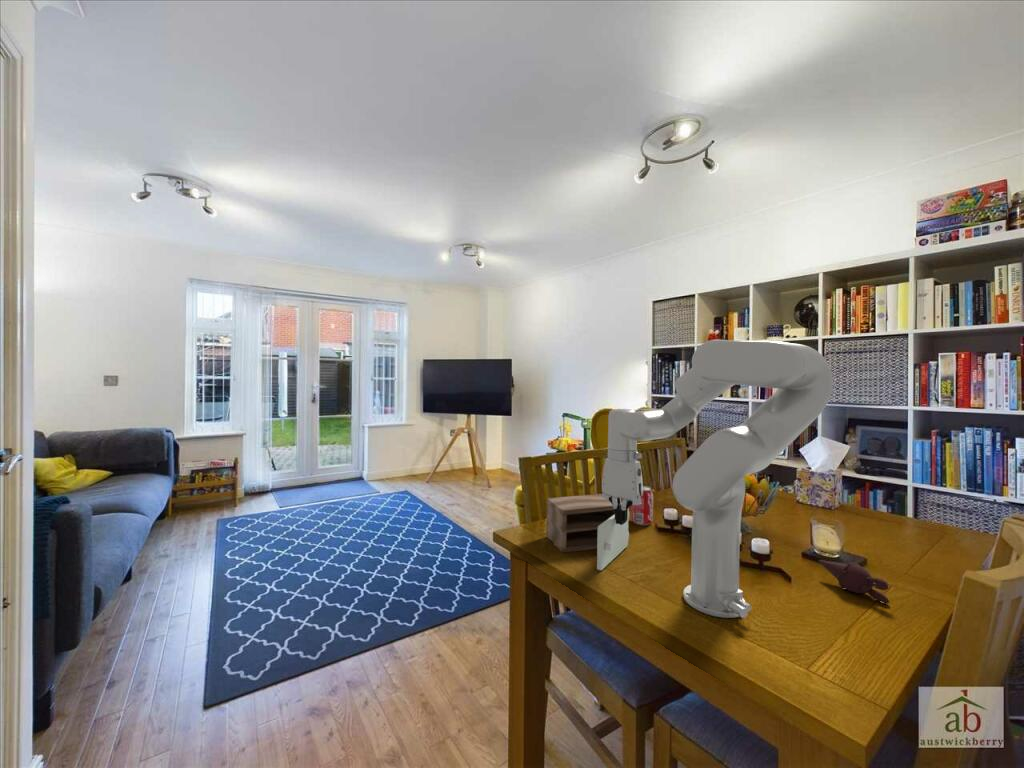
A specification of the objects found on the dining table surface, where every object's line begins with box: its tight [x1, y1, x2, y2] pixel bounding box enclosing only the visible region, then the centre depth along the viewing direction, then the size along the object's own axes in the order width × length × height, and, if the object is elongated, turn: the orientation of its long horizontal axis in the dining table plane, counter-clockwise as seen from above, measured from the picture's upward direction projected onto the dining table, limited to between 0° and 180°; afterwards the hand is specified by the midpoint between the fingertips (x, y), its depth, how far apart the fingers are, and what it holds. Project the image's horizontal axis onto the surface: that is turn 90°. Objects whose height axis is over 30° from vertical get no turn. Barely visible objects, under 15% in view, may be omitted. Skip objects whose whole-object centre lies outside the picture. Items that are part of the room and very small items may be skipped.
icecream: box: [818, 559, 890, 603], centre depth 99 cm, size 7×7×15 cm
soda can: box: [630, 485, 654, 526], centre depth 143 cm, size 7×7×12 cm
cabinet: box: [545, 493, 622, 553], centre depth 127 cm, size 12×20×12 cm, turn 107°
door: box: [596, 507, 630, 571], centre depth 115 cm, size 3×20×11 cm, turn 145°
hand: (620, 522), depth 113 cm, fingers closed
